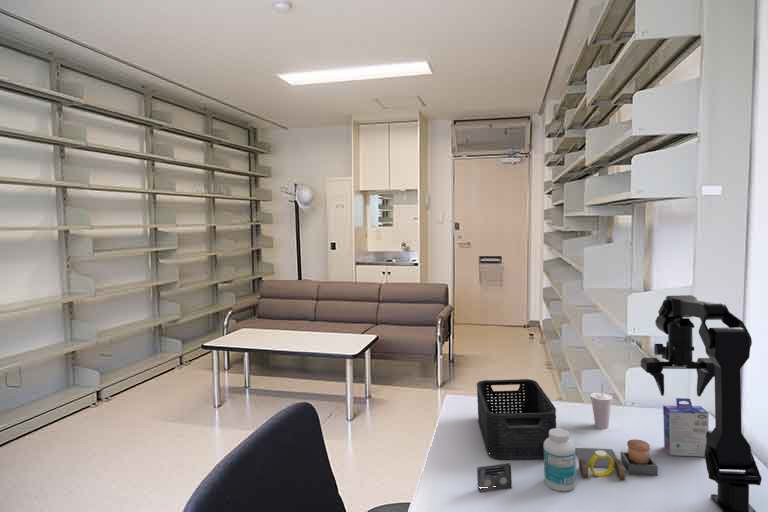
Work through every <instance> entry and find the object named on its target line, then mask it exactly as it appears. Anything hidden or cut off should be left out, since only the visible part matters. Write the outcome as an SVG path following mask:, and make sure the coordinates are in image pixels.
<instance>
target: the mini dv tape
mask: <svg viewBox="0 0 768 512" xmlns="http://www.w3.org/2000/svg"><path fill="white" fill-rule="evenodd" d="M476 473H477V474H476V475H477V477H476V478H477V480H476V481H477V490H478V492H479V494H480V493H487V492H495V491H503V490H504V491H505V490H509V489H510V490H511V489H512V488H513V483H512V465H511V464H510V462H508V463H501V464H493V465H486V466H477V468H476ZM478 486H479V487H488V488H481V489H480V488H479V487H478ZM493 486H496V487H493Z"/></svg>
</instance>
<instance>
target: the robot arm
mask: <svg viewBox="0 0 768 512" xmlns="http://www.w3.org/2000/svg"><path fill="white" fill-rule="evenodd" d="M692 317H694V318H699V319H700V322H701V323H700V326H699V329H698V334H699V337H700V339H701V342H702V343H703V345H704V349H705V353H706V355H707V357H698V358H697V359H696V360H697V361H694V360H693V352H694V351H695V346H694V345H693V328H695V325H694V323H693V322H692V321H691V319H690V318H692ZM709 320H710V321H716V320H719V321H721V322H722V323H723V324H724V325H726V326H727V327H709V328H708V326H707V324H706V321H709ZM654 322H655V327H656V328H657V329H658V330H660V331H661V332H663V333H664V334H665V335H667V338H668V339H667V341H666V342H665V343H666V344H665V345H666V346H664V344H663V343H654V345H653V346H654V347H653V350H654V355H655V356H661V359H664V360H666V361H660V360H659V359H658V358H657V357H642V358H641V360H640V367H641V368H642V369H643V371H645V373H648V374H650V375H651V376H653V378H654V380H655V382H656V385H657V388H658V391H659V394H660V396H661V397H663V396H665V375H664V373H663V370H664V369H667V370H668V369H669V370H670V369H671V370H675V369H676V370H678V369H679V370H696V373H697V377H696V378H697V379H696V380H697V381H696V395H697V396H698V397H701V396H702V394H703V393H704V390H705V389H706V387H707V386H708V384H709V383H710V382H711V381H712V379H713V378H714V414H715V415H714V416H715V417H714V419H715V424H714V425H715V426H714V428H713V429H712V430H709V431H707V433H706V449H705V457H704V459H705V464H706V470H707V473H708V478H709V480H712V481H715V483H716V484H717V494H716V493H715V494H713V493H712V494H710V498H711V499H712V500H713V501H714V502H715V504H716V505H717V506H718V507H719V508H720V510H721V511H722V512H757V511H756V510H755V508H754V507H753V506H752V505H751V504H750V485H751V486H753V485H755V486H761V483H762V481H763V479H762V476H761V473H760V471H759V468H758V465H757V462H756V461H755V458H754V455H753V453H752V447H751V444H750V442H748V441H747V439H746V438H745V436H744V434H743V433H742V388H741V387H742V386H741V385H742V382H741V381H742V379H741V376H742V375H741V374H742V373H741V370H742V368H743V366H745V363H746V362H747V361H748V360H749V359H750V353H751V346H752V345H753V341H752V340H753V339H752V337H751V333H749V331H748V329H747V327H746V325H745V322H743V320H741V319H740V318H738V317H737V316H735V315H734V314H733V313H731V312H730V311H729V309H728V306H727V305H726V304H725V303H722V302H710V301H701V300H698V298H697V297H695V296H693V295H691V294H690V295H689V294H688V295H686V294H684V295H681V294H680V295H667V296H666V297H665V299H664V300H663V301H662V304H661V306H660V308H659V310H658V316H657V317H656V319H655V321H654Z"/></svg>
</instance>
